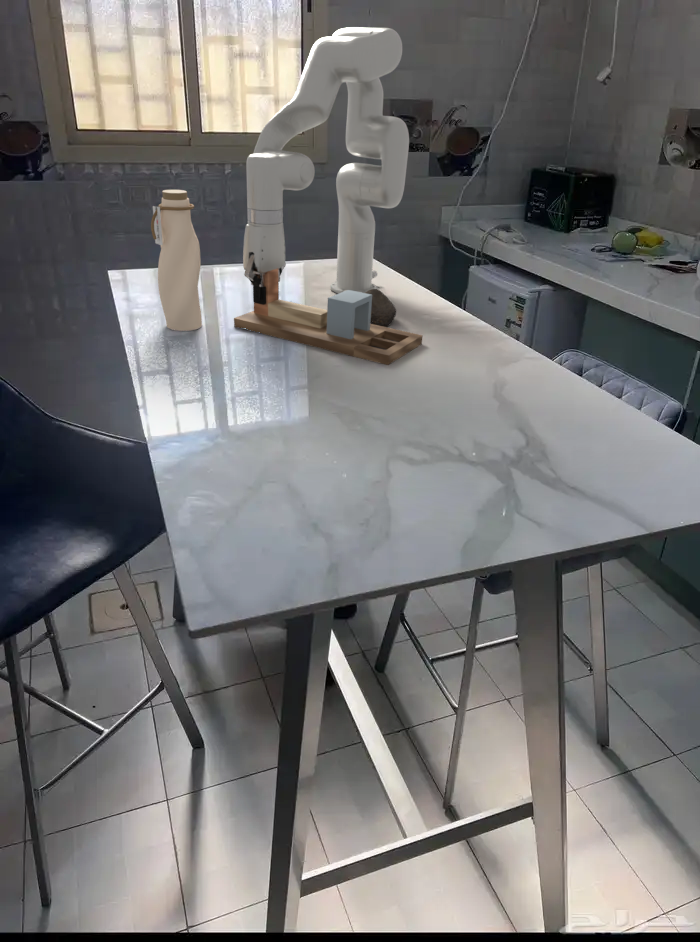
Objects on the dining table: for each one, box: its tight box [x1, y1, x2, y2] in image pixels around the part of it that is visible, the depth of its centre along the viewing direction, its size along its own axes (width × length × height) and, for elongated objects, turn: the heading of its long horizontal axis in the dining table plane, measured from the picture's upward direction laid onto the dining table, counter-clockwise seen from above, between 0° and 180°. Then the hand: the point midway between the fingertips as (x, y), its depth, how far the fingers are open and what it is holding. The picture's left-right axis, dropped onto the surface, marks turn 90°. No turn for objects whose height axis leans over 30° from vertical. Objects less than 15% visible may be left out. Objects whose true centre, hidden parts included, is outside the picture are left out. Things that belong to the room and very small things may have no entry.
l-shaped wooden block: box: [253, 268, 327, 328], centre depth 152 cm, size 4×18×10 cm, turn 60°
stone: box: [365, 288, 397, 328], centre depth 162 cm, size 10×8×10 cm
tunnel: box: [326, 290, 372, 339], centre depth 146 cm, size 8×6×8 cm
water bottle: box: [150, 189, 203, 332], centre depth 145 cm, size 10×9×28 cm
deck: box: [233, 310, 423, 366], centre depth 151 cm, size 16×39×2 cm, turn 60°
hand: (266, 300), depth 156 cm, fingers closed on l-shaped wooden block, 4 cm apart
